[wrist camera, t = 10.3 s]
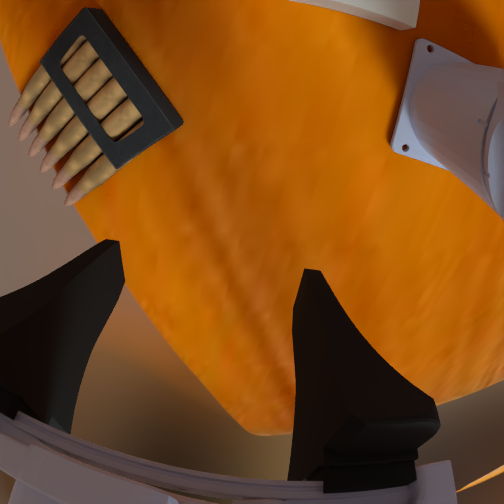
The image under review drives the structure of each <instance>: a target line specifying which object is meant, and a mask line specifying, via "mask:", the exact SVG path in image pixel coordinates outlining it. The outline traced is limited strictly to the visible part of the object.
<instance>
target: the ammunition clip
mask: <svg viewBox="0 0 504 504" xmlns="http://www.w3.org/2000/svg"><path fill="white" fill-rule="evenodd" d="M40 63H41V65H40V67H39V68H38V69H37V71H36V72H35V74H34V75H33V76H32V78H31V79H30V80H29V82H28V83H27V85H26V87H25V89H24V91H23V93H22V95H21V97H20V99H19V100H18V102H17V104H16V105H15V107H14V109H13V111H12V113H11V116H10V119H9V126H12V125H14V124H15V123H16V122H17V121H19V119H21V117H22V116H23V115H24V114H25V113H26V111H27V110H28V108H30V106H31V105H32V104H33V103H34V101H35V100H37V101H36V103H35V105H34V107H33V109H32V111H31V112H30V114H29V116H28V117H27V119H26V120H25V122H24V124H23V126H22V128H21V130H20V133H19V138H18V141H19V142H20V141H22V140H24V139H25V138H27V137H28V136H29V135H30V134H31V133H32V132H33V131H34V130H35V129H36V127H37V126H38V125H39V124H40V123H41V122H42V120H43V119H44V118H45V117H46V116H47V115H48V114H50V115H49V116H48V118H47V120H46V122H45V124H44V125H43V127H42V128H41V130H40V132H39V133H38V134H37V136H36V137H35V139H34V141H33V143H32V145H31V147H30V150H29V157H32V156H34V155H35V154H37V153H38V152H39V151H41V150H42V149H43V148H44V147H45V146H46V145H47V144H48V142H49V141H50V140H51V139H52V138H53V137H54V136H55V135H56V134H57V133H58V132H60V131H61V130H62V129H63V128H64V127H65V126H66V125H67V124H68V123H69V122H70V123H69V124H68V125H67V126H66V127H65V128H64V129H63V131H62V132H61V133H60V135H59V137H58V139H57V140H56V142H55V143H54V144H53V146H52V148H51V149H50V150H49V151H48V153H47V154H46V156H45V158H44V159H43V162H42V164H41V167H40V172H41V173H42V172H45V171H47V170H49V169H50V168H51V167H53V166H54V165H55V164H56V163H57V162H58V161H59V160H60V159H61V158H62V157H63V156H64V155H65V154H66V153H67V152H68V151H70V150H71V149H73V148H74V147H75V146H76V145H77V144H78V143H79V142H80V141H81V140H82V139H83V138H84V137H85V136H86V135H87V134H88V133H89V135H88V136H87V138H86V139H85V140H84V141H83V142H82V143H81V144H80V145H79V146H78V147H77V148H76V149H75V150H74V151H73V153H72V155H71V156H70V158H69V159H68V161H67V162H66V163H65V164H64V166H63V167H62V168H61V169H60V171H59V172H58V174H57V175H56V177H55V179H54V181H53V184H52V189H56V188H59V187H61V186H62V185H64V184H65V183H67V182H68V181H69V180H70V179H71V178H72V177H73V176H74V175H76V174H77V173H78V172H79V171H80V170H82V169H84V168H85V167H87V166H88V165H89V164H90V163H91V162H92V161H94V160H95V159H96V158H97V157H98V156H99V155H100V154H101V153H102V152H103V153H104V154H103V155H102V156H101V157H100V158H99V159H98V160H96V161H95V162H94V163H93V164H92V165H91V166H90V167H89V168H88V170H87V171H86V172H85V174H84V176H83V177H82V178H81V179H80V180H79V181H78V183H77V184H76V185H75V186H74V187H73V188H72V189H71V191H70V192H69V194H68V195H67V197H66V200H65V205H66V206H68V205H71V204H74V203H75V202H77V201H79V200H80V199H82V198H83V197H84V196H85V195H86V194H88V193H89V192H91V191H92V190H93V189H94V188H96V187H98V186H100V185H102V184H103V183H104V182H105V181H107V180H108V179H109V178H110V177H111V176H113V175H114V174H115V173H116V172H117V171H119V170H120V169H121V168H122V167H124V166H125V165H126V164H127V163H129V162H130V161H131V160H132V159H134V158H135V157H136V156H138V155H139V154H140V153H142V152H143V151H144V150H145V149H147V148H148V147H150V146H151V145H153V144H154V143H156V142H157V141H159V140H160V139H162V138H163V137H165V136H167V135H168V134H170V133H171V132H173V131H174V130H176V129H177V128H179V127H180V126H181V125H183V120H182V119H181V117H180V116H179V114H178V113H177V112H176V110H175V109H174V107H173V106H172V105H171V103H170V102H169V100H168V99H167V98H166V96H165V95H164V94H163V92H162V91H161V89H160V88H159V87H158V85H157V84H156V82H155V81H154V80H153V78H152V77H151V75H150V74H149V73H148V71H147V70H146V69H145V67H144V66H143V64H142V63H141V62H140V60H139V59H138V58H137V56H136V55H135V54H134V52H133V51H132V49H131V48H130V47H129V45H128V44H127V43H126V41H125V40H124V39H123V37H122V36H121V34H120V33H119V32H118V30H117V29H116V28H115V26H114V25H113V24H112V22H111V21H110V20H109V18H108V17H107V16H106V14H105V13H104V12H103V10H102V9H96V8H85V7H84V8H83V9H82V10H81V11H80V12H79V14H78V15H77V16H76V17H75V18H74V19H73V20H72V21H71V23H70V24H69V25H68V26H67V27H66V29H65V30H64V31H63V32H62V33H61V35H60V36H59V37H58V38H57V40H56V41H55V42H54V43H53V45H52V46H51V47H50V49H49V50H48V51H47V53H46V54H45V55H44V57H43V58H42V60H41V61H40ZM127 97H128V99H127V100H125V99H126V98H127ZM124 100H125V101H124ZM122 101H124V102H123V103H122V104H121V105H120V106H119V107H118V108H117V109H115V108H116V107H117V106H118V105H119V104H120V103H121V102H122ZM113 109H115V110H114V111H113V112H112V113H111V114H110V112H111V111H112V110H113ZM75 115H76V116H75ZM74 116H75V117H74ZM73 117H74V118H73ZM72 118H73V119H72ZM142 118H143V120H142V121H141V122H140V123H138V124H137V125H136V126H135V127H134V128H132V129H131V130H130V131H129V132H128V133H127V134H126V133H125V132H126V131H128V130H129V129H130V128H131V127H132V126H134V125H135V124H136V123H137V122H139V121H140V120H141V119H142Z"/></svg>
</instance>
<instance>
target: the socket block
mask: <svg viewBox="0 0 504 504" xmlns="http://www.w3.org/2000/svg"><path fill="white" fill-rule="evenodd" d="M290 1H295V2H301V3H306V4H311V5H315V6H320V7H324V8H328V9H333V10H337V11H340V12H344V13H348V14H351V15H355V16H358V17H362V18H365V19H368V20H371V21H374V22H377V23H380V24H383V25H386V26H389V27H392V28H394V29H397V30H400V31H401V30H407V29H412V28H416V24H417V18H418V12H419V5H420V0H290Z"/></svg>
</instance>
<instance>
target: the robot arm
mask: <svg viewBox="0 0 504 504" xmlns="http://www.w3.org/2000/svg"><path fill="white" fill-rule="evenodd" d="M428 45H429V46H430V47H431V52H429V51H428V50H427V46H428ZM404 144H407V148H406V150H402V146H403V145H404ZM390 146H391V149H392V150H393V151H394V152H396V153H399V154H402V155H405V156H408V157H411V158H414V159H417V160H420V161H423V162H426V163H429V164H432V165H435V166H438V167H441V168H443V169H446V170H449V171H451V172H452V173H453V174H454V175H455V176H457V177H458V178H459V179H460V180H461V181H462V182H464V183H465V184H466V185H467V186H468V187H469V188H470V189H472V190H473V191H474V192H475V193H476V194H477V195H478V196H479V197H480V198H482V199H483V200H484V201H485V202H486V203H487V204H488V205H489V206H490V207H491V208H492V209H493V210H494V211H495V212H496V213H497V214H498V215H499V216H500V217H501V218H502V219H503V221H504V69H502V68H497V67H491V66H485V65H479V64H474V63H472V62H471V61H469V60H467V59H465V58H463V57H461V56H459V55H457V54H456V53H454V52H452V51H450V50H448V49H445V48H443V47H441V46H439V45H437V44H435V43H433V42H430V41H428V40H426V39H423V38H420V39H417V40H416V41H415V43H414V49H413V54H412V58H411V63H410V68H409V72H408V77H407V81H406V85H405V89H404V94H403V98H402V102H401V106H400V109H399V113H398V117H397V121H396V124H395V128H394V132H393V135H392V139H391V142H390ZM124 283H125V277H124V271H123V264H122V258H121V250H120V243H119V241H115V240H109V239H105V240H103V241H102V242H100V243H98V244H96V245H95V246H93V247H92V248H90V249H88V250H87V251H85V252H84V253H82V254H80V255H79V256H77V257H76V258H74V259H73V260H71V261H69V262H68V263H66V264H65V265H63V266H61V267H60V268H58V269H56V270H55V271H53V272H51V273H50V274H48V275H47V276H45V277H43V278H41V279H39V280H37V281H35V282H33V283H31V284H29V285H27V286H25V287H23V288H21V289H18V290H16V291H14V292H11V293H9V294H7V295H4V296H2V297H0V470H2V471H4V472H5V473H7V474H8V475H10V476H11V477H13V478H15V479H16V481H15V484H14V487H13V490H12V493H11V496H10V500H9V503H8V504H217V503H212V502H207V501H202V500H198V499H194V498H189V497H185V496H181V495H177V494H173V493H169V492H166V491H163V490H160V489H158V488H155V487H153V486H149V485H147V484H143V483H140V482H137V481H141V482H145V483H148V484H152V485H156V486H160V487H164V488H168V489H173V490H178V491H183V492H188V493H193V494H199V495H204V496H211V497H218V498H225V499H233V500H234V501H232V504H457V497H456V490H455V484H454V478H453V472H452V467H451V461H449V460H445V461H441V462H436V463H431V464H426V465H422V466H419V467H417V468H415V463H414V460H416V459H418V451H417V448H418V447H420V446H421V445H423V444H424V443H425V442H426V441H428V440H429V439H430V438H432V437H433V436H434V435H435V434H436V433H437V431H438V430H439V428H440V420H439V416H438V412H437V408H436V405H435V402H434V399H433V398H431V397H430V396H428V395H427V394H426V393H424V392H423V391H421V390H420V389H419V388H417V387H416V386H414V385H413V384H412V383H410V382H409V381H408V380H407V379H405V378H404V377H403V376H402V375H401V374H399V373H398V372H397V371H396V370H395V369H394V368H393V367H392V366H390V365H389V364H388V363H387V362H386V361H385V360H384V359H383V358H382V357H381V356H380V355H379V354H378V353H377V352H376V350H375V349H374V348H373V347H372V346H371V345H370V344H369V343H368V341H367V340H366V339H365V338H364V337H363V336H362V334H361V333H360V332H359V331H358V329H357V328H356V327H355V325H354V324H353V322H352V321H351V320H350V318H349V317H348V315H347V314H346V312H345V311H344V309H343V308H342V306H341V305H340V303H339V301H338V300H337V298H336V297H335V295H334V293H333V291H332V290H331V288H330V286H329V285H328V283H327V281H326V279H325V278H324V276H323V274H322V273H321V271H319V270H312V269H305V268H304V272H303V275H302V279H301V282H300V286H299V290H298V293H297V297H296V300H295V304H294V307H293V323H292V336H293V350H294V363H295V377H296V397H295V414H294V428H293V438H292V448H291V457H290V465H289V472H288V479H287V481H280V480H265V479H253V478H243V477H234V476H226V475H219V474H212V473H206V472H200V471H194V470H189V469H184V468H179V467H174V466H170V465H165V464H161V463H157V462H153V461H149V460H145V459H141V458H138V457H134V456H130V455H127V454H124V453H121V452H118V451H114V450H111V449H108V448H105V447H102V446H99V445H96V444H94V443H91V442H88V441H86V440H83V439H80V438H78V437H75V436H73V435H70V434H71V426H72V420H73V415H74V409H75V405H76V400H77V396H78V392H79V388H80V385H81V382H82V378H83V375H84V372H85V368H86V366H87V363H88V360H89V357H90V354H91V352H92V349H93V347H94V345H95V343H96V341H97V339H98V337H99V335H100V333H101V331H102V330H103V328H104V326H105V324H106V322H107V320H108V318H109V316H110V315H111V313H112V311H113V309H114V307H115V305H116V303H117V301H118V299H119V296H120V294H121V291H122V288H123V286H124ZM59 452H60V453H59ZM61 453H62V454H61ZM63 454H64V455H63ZM65 455H66V456H65ZM67 456H69V457H71V458H69V457H67ZM72 458H74V459H76V460H74V459H72ZM77 460H78V461H77ZM79 461H81V462H79ZM82 462H84V463H86V464H84V463H82ZM87 464H89V465H91V466H89V465H87ZM92 466H94V467H92ZM95 467H97V468H100V469H102V470H100V469H97V468H95ZM103 470H105V471H103ZM106 471H108V472H106ZM109 472H111V473H109ZM112 473H114V474H112ZM115 474H118V475H120V476H118V475H115ZM121 476H124V477H127V478H124V477H121ZM128 478H130V479H128ZM131 479H134V480H137V481H134V480H131Z"/></svg>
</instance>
